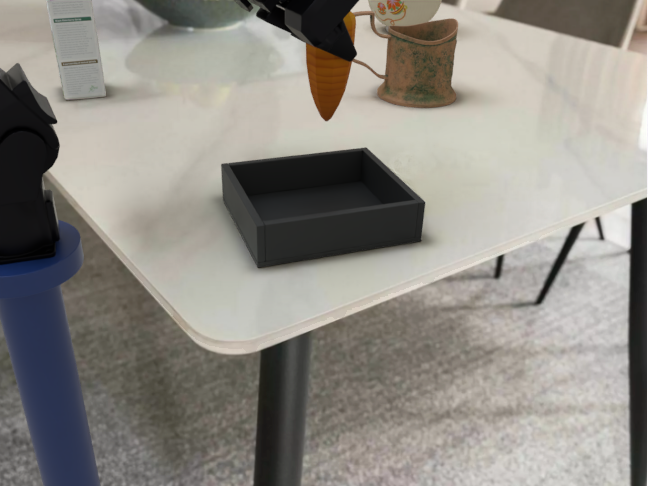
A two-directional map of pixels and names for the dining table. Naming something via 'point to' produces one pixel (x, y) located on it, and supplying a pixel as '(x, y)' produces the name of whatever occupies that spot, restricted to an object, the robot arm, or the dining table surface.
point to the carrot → (328, 74)
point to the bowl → (404, 11)
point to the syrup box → (76, 48)
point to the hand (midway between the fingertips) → (341, 51)
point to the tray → (319, 205)
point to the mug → (417, 63)
